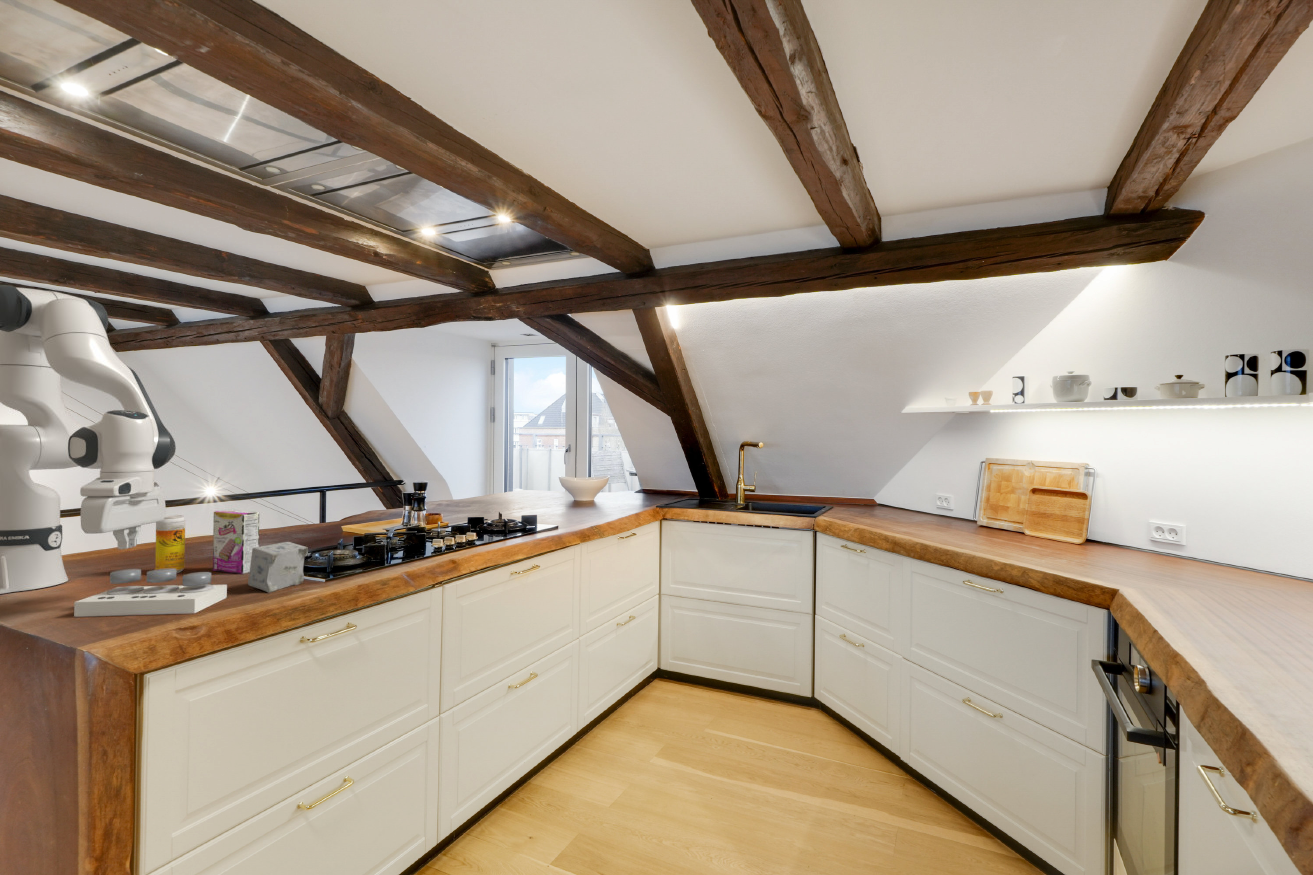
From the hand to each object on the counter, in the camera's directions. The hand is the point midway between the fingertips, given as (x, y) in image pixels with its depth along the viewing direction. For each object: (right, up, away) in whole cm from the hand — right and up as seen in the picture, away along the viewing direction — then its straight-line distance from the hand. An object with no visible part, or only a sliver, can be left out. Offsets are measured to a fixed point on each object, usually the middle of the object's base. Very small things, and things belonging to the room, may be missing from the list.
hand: (126, 548), depth 128 cm
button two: (0, -7, 0) cm, 7 cm away
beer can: (-16, -12, +30) cm, 36 cm away
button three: (+7, -7, +1) cm, 10 cm away
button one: (+13, -8, +2) cm, 16 cm away
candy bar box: (0, -13, +33) cm, 35 cm away
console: (+7, -13, -1) cm, 14 cm away
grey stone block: (+22, -13, +17) cm, 31 cm away
